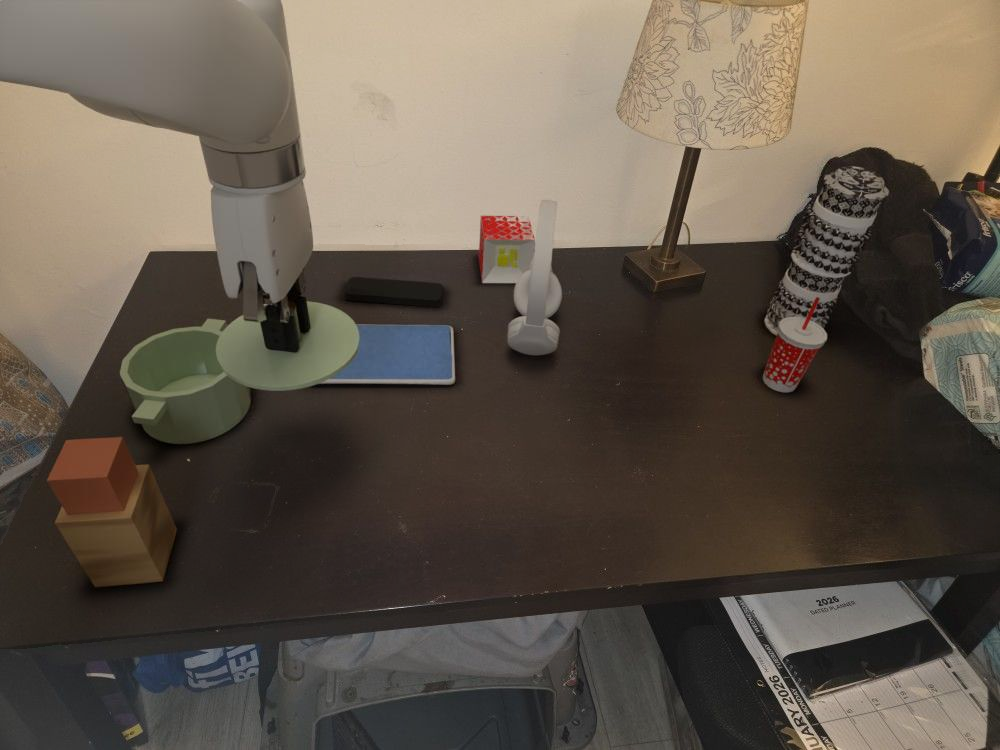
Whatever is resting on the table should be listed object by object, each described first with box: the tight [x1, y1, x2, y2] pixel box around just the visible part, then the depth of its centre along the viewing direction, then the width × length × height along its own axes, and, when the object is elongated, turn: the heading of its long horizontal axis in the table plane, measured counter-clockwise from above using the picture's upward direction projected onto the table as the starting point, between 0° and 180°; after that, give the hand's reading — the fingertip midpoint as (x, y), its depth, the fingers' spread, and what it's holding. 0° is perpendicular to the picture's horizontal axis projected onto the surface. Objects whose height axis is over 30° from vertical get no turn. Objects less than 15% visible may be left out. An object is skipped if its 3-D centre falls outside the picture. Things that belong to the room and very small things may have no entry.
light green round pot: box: [119, 318, 252, 445], centre depth 77 cm, size 13×18×8 cm
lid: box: [216, 300, 360, 392], centre depth 63 cm, size 14×14×5 cm
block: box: [46, 436, 138, 515], centre depth 55 cm, size 4×4×4 cm
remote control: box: [343, 276, 445, 308], centre depth 100 cm, size 5×2×15 cm
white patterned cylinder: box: [763, 165, 890, 336], centre depth 93 cm, size 9×9×25 cm
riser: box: [54, 464, 178, 588], centre depth 60 cm, size 6×6×10 cm
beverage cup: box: [762, 297, 828, 393], centre depth 86 cm, size 6×6×14 cm
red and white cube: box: [478, 215, 536, 284], centre depth 106 cm, size 8×8×8 cm
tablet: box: [318, 323, 456, 386], centre depth 88 cm, size 19×13×1 cm, turn 94°
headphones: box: [506, 199, 563, 356], centre depth 88 cm, size 7×18×20 cm, turn 174°
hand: (288, 338), depth 64 cm, fingers closed on lid, 2 cm apart
